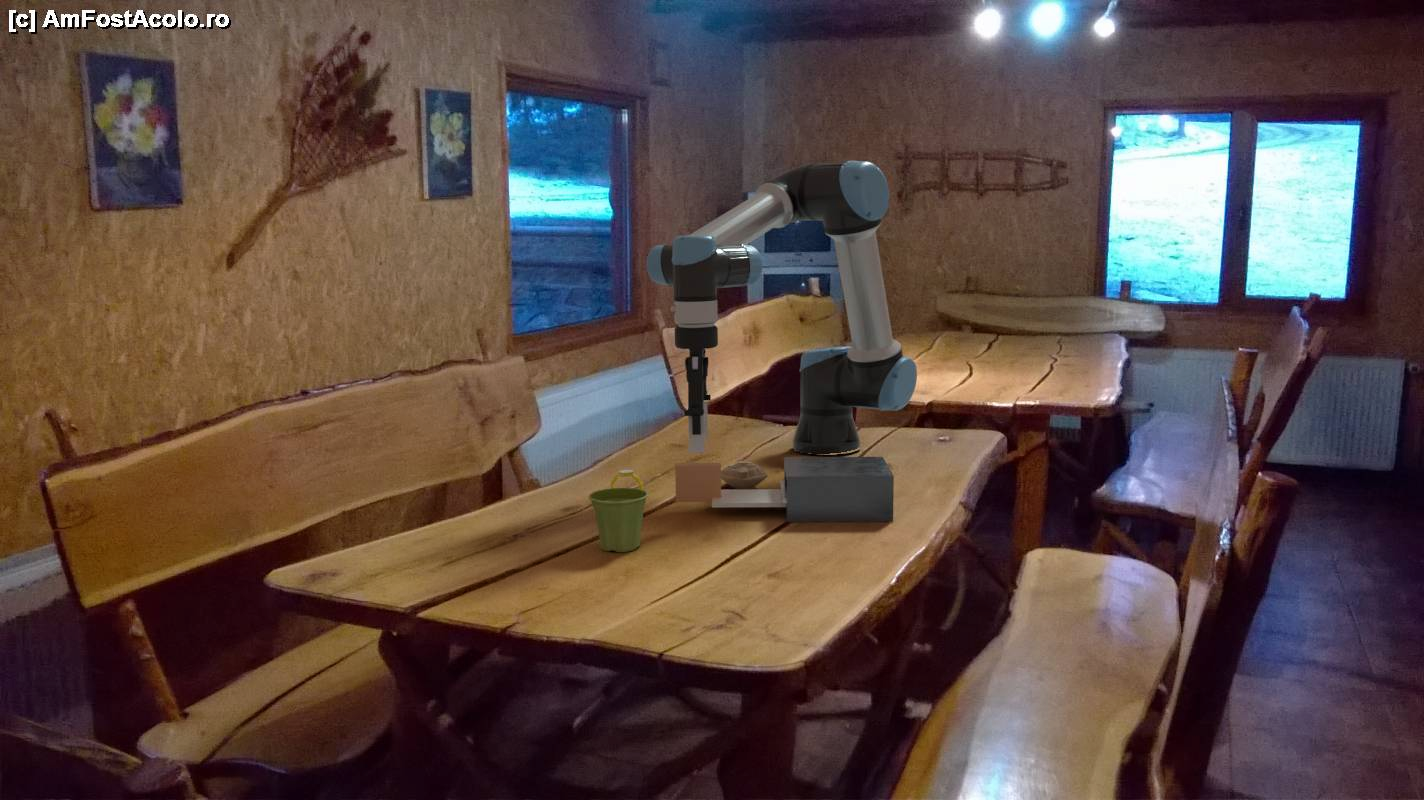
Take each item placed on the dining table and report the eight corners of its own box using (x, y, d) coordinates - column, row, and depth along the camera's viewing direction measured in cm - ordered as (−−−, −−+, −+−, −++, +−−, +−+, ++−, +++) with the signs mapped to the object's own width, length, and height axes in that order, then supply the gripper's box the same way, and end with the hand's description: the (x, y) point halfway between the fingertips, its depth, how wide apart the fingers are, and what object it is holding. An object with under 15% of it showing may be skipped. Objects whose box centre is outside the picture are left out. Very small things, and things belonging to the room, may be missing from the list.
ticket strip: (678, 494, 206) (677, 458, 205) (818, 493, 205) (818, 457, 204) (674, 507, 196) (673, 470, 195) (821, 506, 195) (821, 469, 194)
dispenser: (780, 499, 208) (779, 457, 207) (882, 499, 208) (882, 456, 206) (782, 522, 193) (782, 476, 191) (893, 521, 192) (893, 475, 191)
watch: (610, 504, 208) (607, 473, 207) (615, 501, 210) (612, 470, 210) (641, 504, 206) (638, 472, 205) (646, 500, 209) (643, 469, 208)
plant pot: (603, 559, 172) (602, 504, 171) (581, 544, 181) (580, 491, 179) (659, 550, 177) (658, 496, 175) (635, 536, 185) (634, 484, 183)
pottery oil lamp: (767, 477, 226) (777, 449, 222) (754, 510, 216) (764, 482, 212) (726, 461, 226) (735, 433, 223) (711, 494, 216) (721, 465, 213)
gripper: (678, 318, 208) (681, 431, 212) (669, 332, 184) (673, 460, 187) (719, 317, 208) (721, 430, 212) (715, 332, 183) (718, 459, 187)
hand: (699, 444), depth 199 cm, fingers open, 13 cm apart
